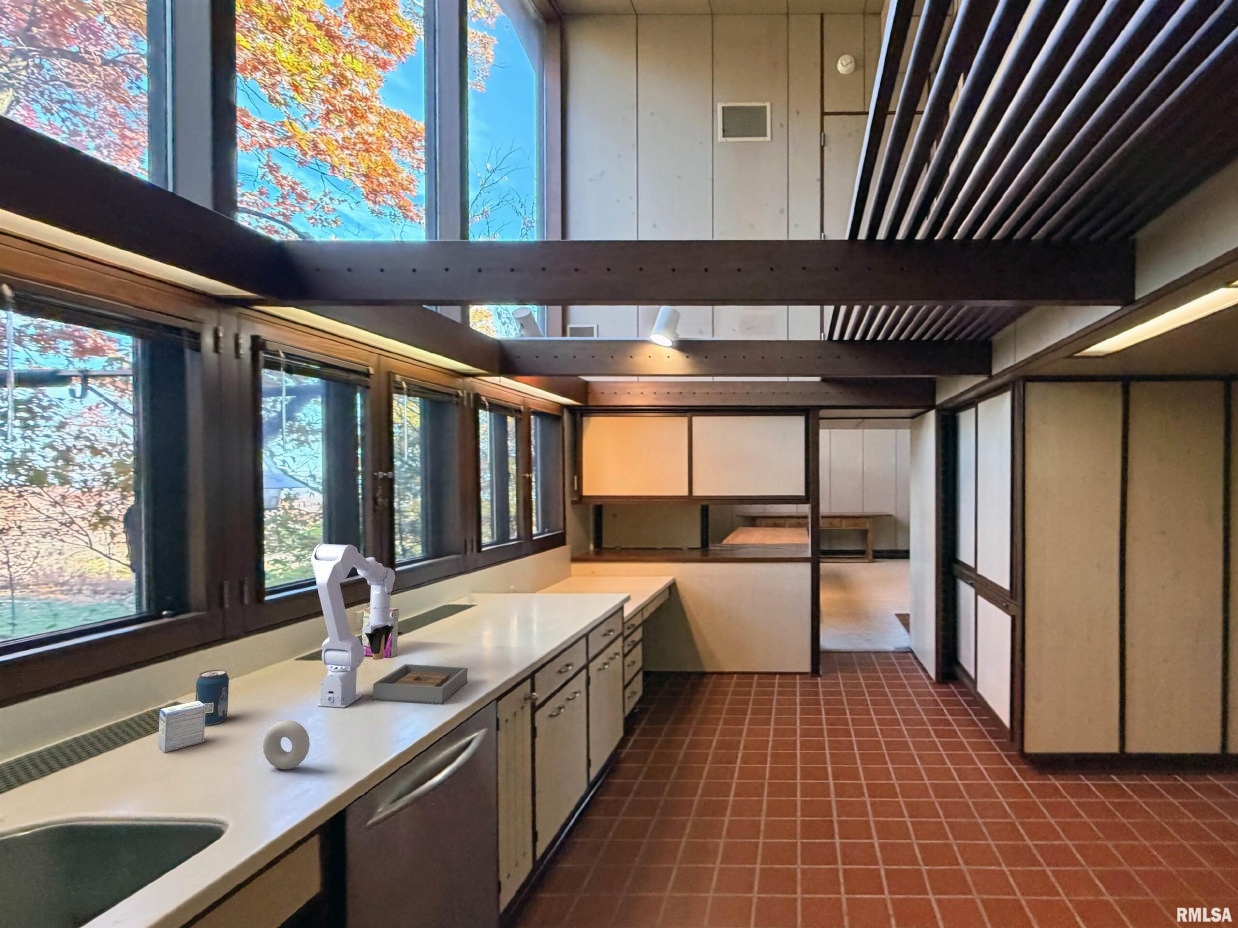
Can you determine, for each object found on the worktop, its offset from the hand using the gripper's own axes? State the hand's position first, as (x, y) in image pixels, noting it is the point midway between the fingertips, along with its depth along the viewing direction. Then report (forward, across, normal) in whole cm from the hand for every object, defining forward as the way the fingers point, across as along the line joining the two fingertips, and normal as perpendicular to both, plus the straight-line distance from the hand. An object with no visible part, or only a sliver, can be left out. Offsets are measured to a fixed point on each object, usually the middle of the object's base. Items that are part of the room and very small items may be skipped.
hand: (378, 651), depth 195 cm
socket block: (+9, -6, -17) cm, 20 cm away
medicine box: (+9, -52, +20) cm, 56 cm away
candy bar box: (+9, +27, +13) cm, 31 cm away
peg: (+2, 0, 0) cm, 2 cm away
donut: (+9, -59, -10) cm, 60 cm away
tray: (+9, -6, -17) cm, 20 cm away
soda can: (+9, -38, +24) cm, 46 cm away
